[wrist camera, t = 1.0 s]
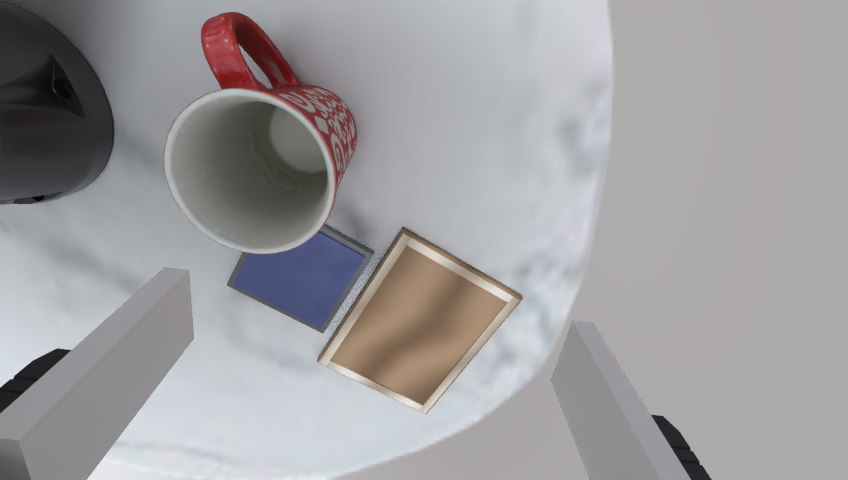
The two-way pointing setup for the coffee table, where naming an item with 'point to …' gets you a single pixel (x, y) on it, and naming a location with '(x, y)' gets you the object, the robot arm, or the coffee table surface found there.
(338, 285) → the ink pad
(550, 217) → the coffee table surface
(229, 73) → the mug
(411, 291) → the board
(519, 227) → the coffee table surface
